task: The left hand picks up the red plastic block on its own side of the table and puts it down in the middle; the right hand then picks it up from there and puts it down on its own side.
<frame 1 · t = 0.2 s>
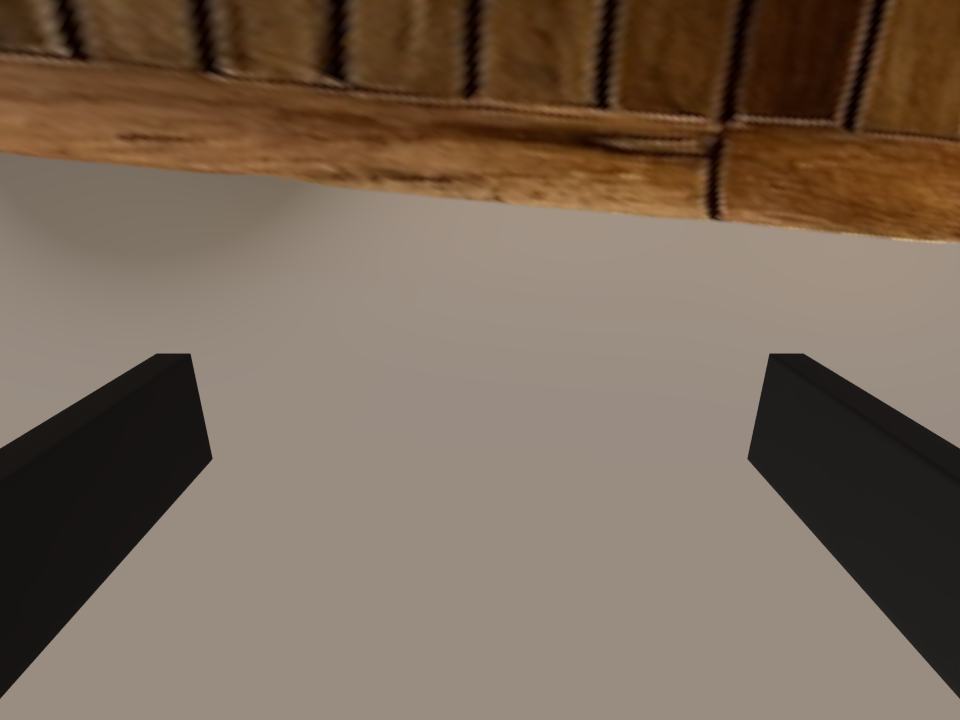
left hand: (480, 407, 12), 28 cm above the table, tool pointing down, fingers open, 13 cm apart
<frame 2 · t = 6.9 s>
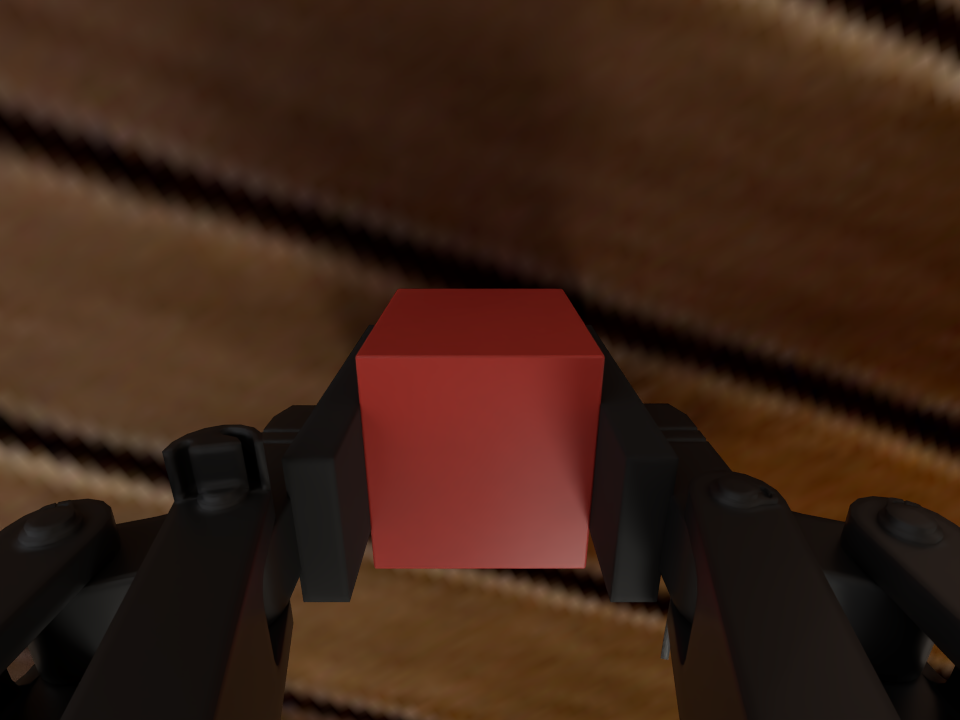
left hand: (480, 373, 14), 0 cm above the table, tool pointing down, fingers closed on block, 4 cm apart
block: (480, 370, 14), on the table, touching left hand
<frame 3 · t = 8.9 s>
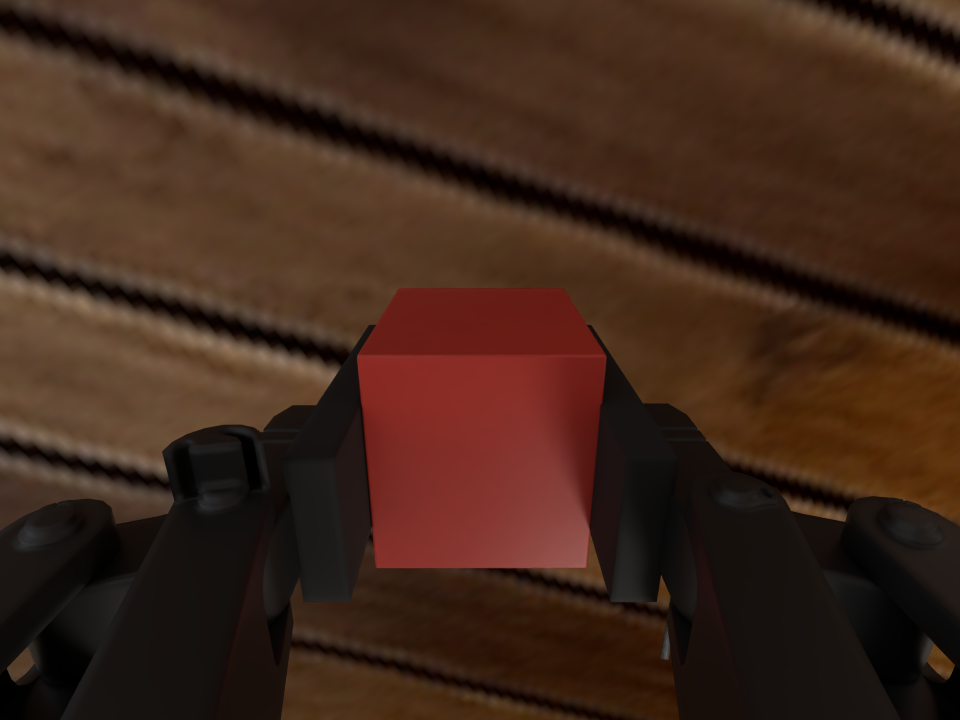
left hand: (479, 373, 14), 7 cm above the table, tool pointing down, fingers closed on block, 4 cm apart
block: (481, 370, 14), point 7 cm above the table, touching left hand
when the left hand's fingers open (1 cm above the table, at t = 10.9 s): block drops 1 cm, on the table.
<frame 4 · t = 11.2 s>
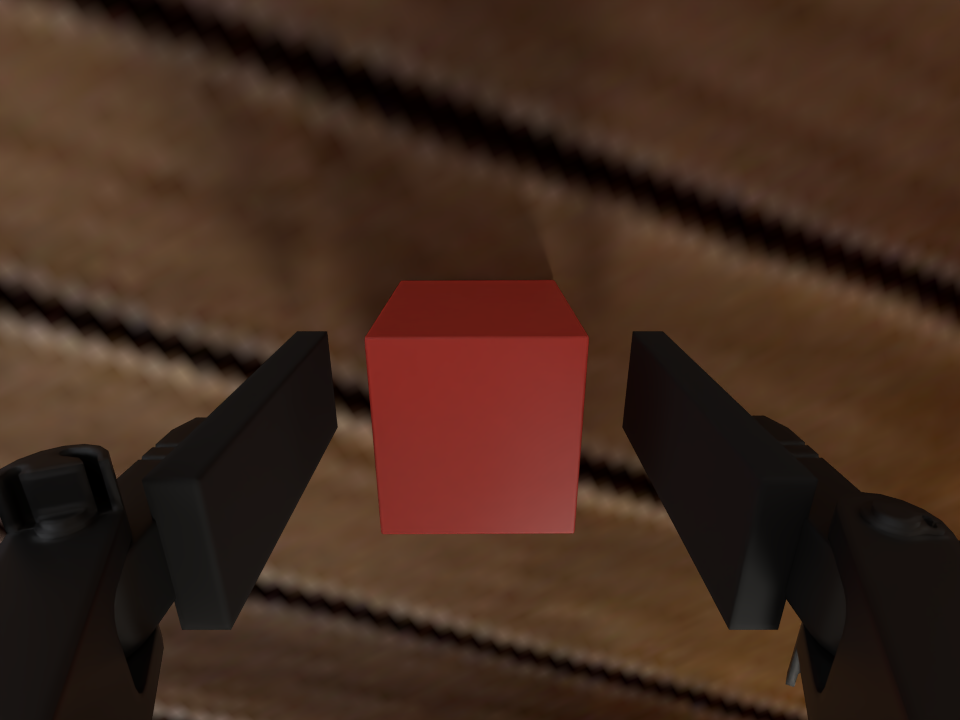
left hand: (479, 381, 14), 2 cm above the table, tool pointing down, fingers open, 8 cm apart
block: (477, 357, 15), on the table
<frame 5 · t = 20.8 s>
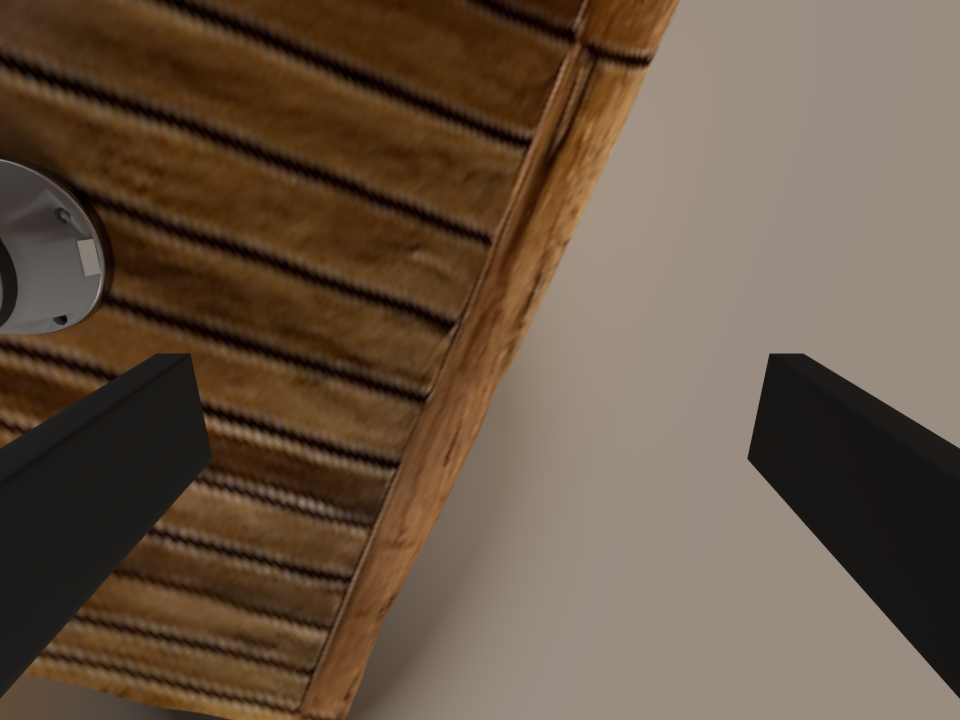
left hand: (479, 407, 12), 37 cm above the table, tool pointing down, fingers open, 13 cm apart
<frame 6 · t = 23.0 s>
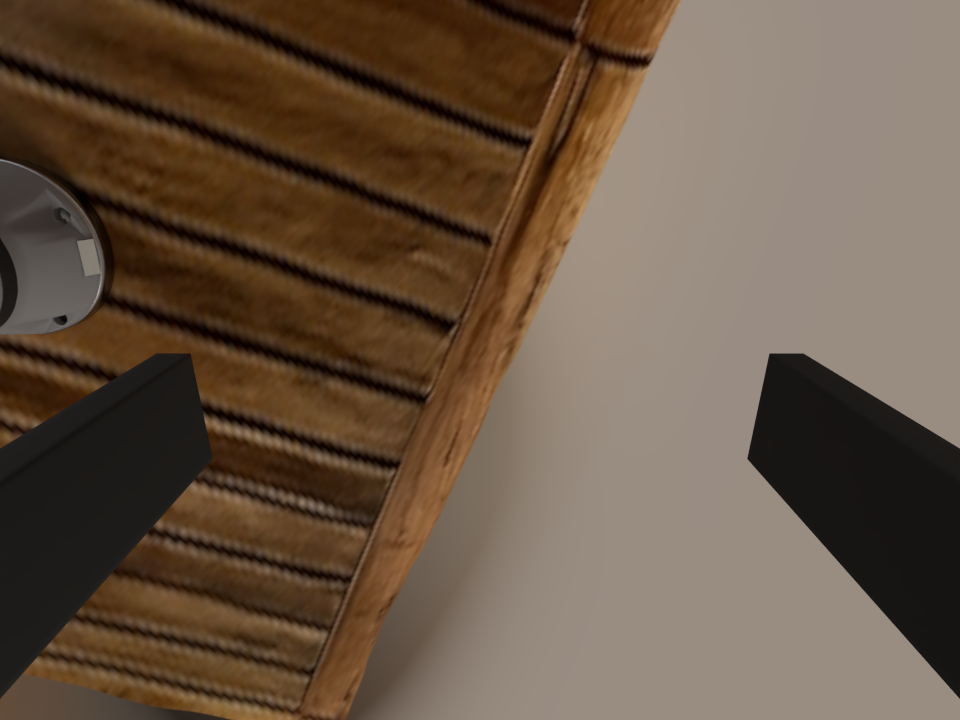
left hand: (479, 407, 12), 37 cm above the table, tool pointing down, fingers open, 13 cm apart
when the right hand's fingers open (3 cm above the table, at t = 25.7 s): block drops 1 cm, on the table.
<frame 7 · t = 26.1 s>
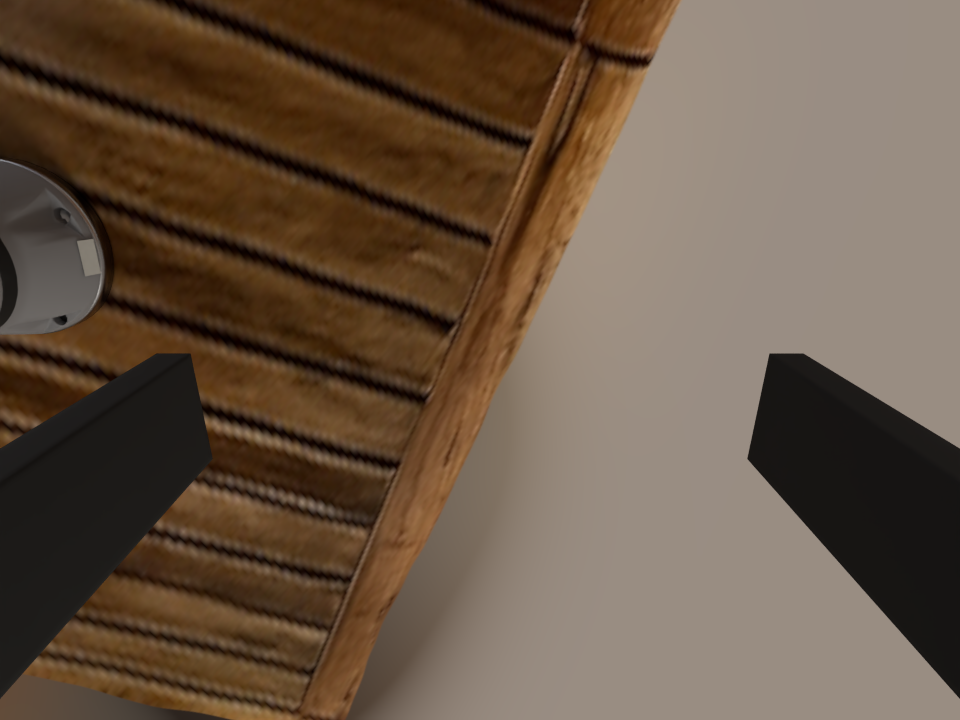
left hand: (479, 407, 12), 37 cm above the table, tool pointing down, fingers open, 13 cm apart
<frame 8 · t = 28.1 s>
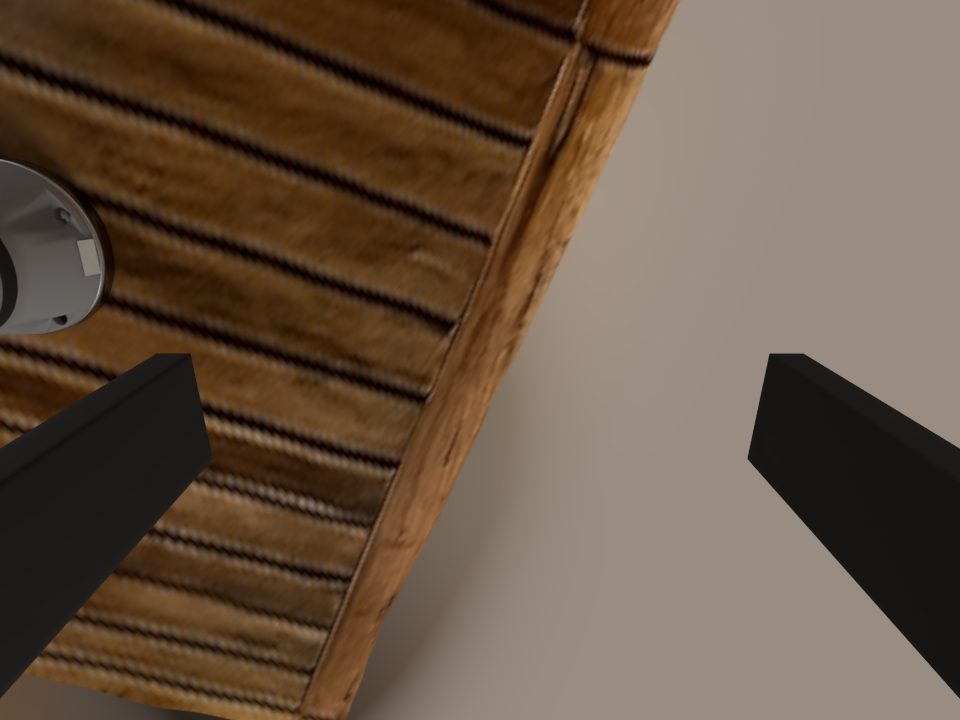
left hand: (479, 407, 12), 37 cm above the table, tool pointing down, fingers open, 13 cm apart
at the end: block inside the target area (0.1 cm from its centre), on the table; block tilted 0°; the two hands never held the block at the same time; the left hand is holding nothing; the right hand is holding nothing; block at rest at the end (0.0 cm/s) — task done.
